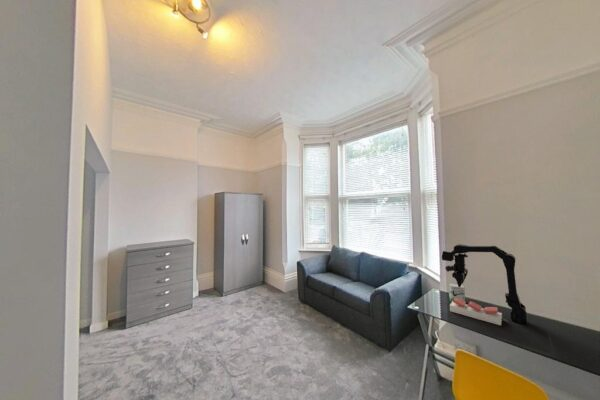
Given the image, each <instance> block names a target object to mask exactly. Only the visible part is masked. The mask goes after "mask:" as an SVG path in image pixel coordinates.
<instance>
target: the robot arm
mask: <svg viewBox="0 0 600 400" xmlns="http://www.w3.org/2000/svg"><path fill="white" fill-rule="evenodd" d="M467 253H493V254H494V255H495V256H497V257H498V258H500V259H501V260H502V263H503V265H504V268H505V271H506V279H507V289H508V293H507V292H505V294H504V297H505V303H507V306H509V308H511V310H510V319H511V321H512V322H514V323H518V324H521V325H525V326H528V317H527V307H526V306H525V305H524V304H523V303H522V302H521V300H520V296H519V294H518V290H517V282H516V274H515V267H516V259H517V258H516V256H515V255H514V254H512V253H508V252H507V251H505V250H503V249H501V248H499V247H498V246H497V245H466V244H460V243H459V244H456V245H455V246H453V250H451V251H445V250H443V251H442V253H441V254H442V255H441V260H442V261H446V262H453V261H454V264H452V265H446V266H445V267H444V268H445V271H446V272H448V273H449V272H452V271H453V272H452V275H451V277H452V278H453V279H455V280H456V284H457V285H458V287H461V285H462V284H464V283H465V280H466V278H467V275H468V272H469V271H468V269H467V268H466V261H465V260H466V258H468V257H469V255H467Z"/></svg>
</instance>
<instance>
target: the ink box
mask: <svg viewBox="0 0 600 400" xmlns="http://www.w3.org/2000/svg"><path fill="white" fill-rule="evenodd" d="M465 291H466V290H465V286H464V285H462V284H461V287H458V284H457V283H456V284H455V283H449V284H448V297H449V299H448V300H449V301H450V302H451V303H452V301H453V300H454V299H455V297H456V298H458V299H460V300H462V301H464V302H466V292H465Z"/></svg>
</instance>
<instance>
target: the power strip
mask: <svg viewBox="0 0 600 400" xmlns="http://www.w3.org/2000/svg"><path fill="white" fill-rule="evenodd" d="M449 312H452V313H456V314H458V315H463V316H466V317H470V318H473V319H475V320H480V321H484V322H487V323H491V324H494V325H498V326H502V323H503V322H507V323H509V320H508V319H506V318H503V315H502V314H503V313H502V312H499V311H498V313H485V312H484V308H483V307H481V309H480V311H477V310H475V309H473V308H471V307H469V306H468V304H465V306H464V307H462V306H460V305H458V304H456V303H454V302H453V301H452V302H451V303H450V304H449Z"/></svg>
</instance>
